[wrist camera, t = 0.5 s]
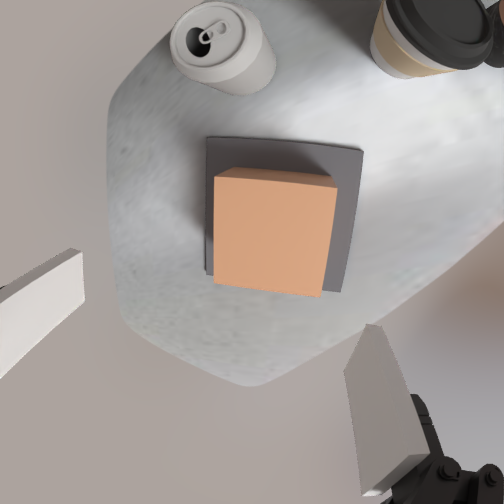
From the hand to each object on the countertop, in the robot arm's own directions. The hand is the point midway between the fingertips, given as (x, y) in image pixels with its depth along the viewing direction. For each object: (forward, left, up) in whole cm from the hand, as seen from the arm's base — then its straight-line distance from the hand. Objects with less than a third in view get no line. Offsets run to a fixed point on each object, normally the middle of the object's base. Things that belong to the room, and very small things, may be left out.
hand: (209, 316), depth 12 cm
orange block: (-1, +2, -22) cm, 22 cm away
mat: (-1, +2, -23) cm, 23 cm away
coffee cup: (-13, -19, -23) cm, 32 cm away
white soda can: (+4, -15, -23) cm, 28 cm away
